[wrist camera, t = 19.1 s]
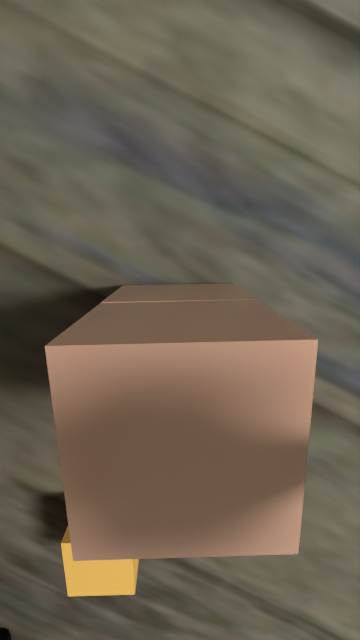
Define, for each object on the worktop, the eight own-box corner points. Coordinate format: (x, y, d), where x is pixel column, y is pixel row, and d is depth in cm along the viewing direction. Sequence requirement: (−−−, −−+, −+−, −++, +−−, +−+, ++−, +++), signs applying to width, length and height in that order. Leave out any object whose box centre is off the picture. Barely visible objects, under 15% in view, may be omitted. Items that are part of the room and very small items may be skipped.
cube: (86, 534, 22) (68, 596, 18) (81, 488, 21) (61, 543, 17) (141, 533, 22) (134, 594, 18) (139, 487, 21) (131, 541, 17)
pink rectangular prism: (112, 440, 14) (73, 560, 9) (100, 302, 12) (44, 346, 7) (251, 436, 14) (298, 553, 9) (256, 299, 12) (318, 339, 7)
